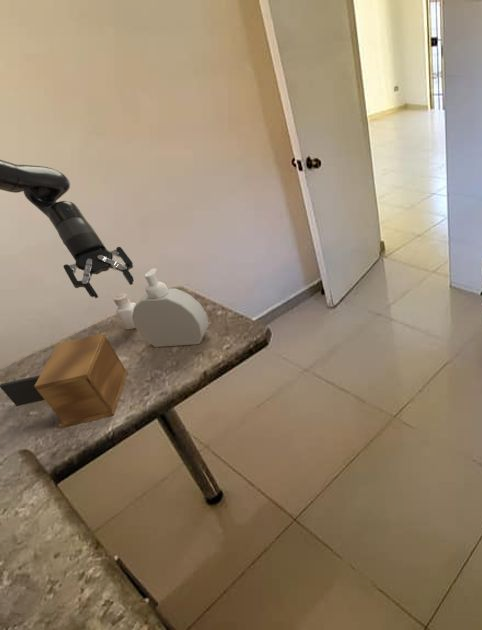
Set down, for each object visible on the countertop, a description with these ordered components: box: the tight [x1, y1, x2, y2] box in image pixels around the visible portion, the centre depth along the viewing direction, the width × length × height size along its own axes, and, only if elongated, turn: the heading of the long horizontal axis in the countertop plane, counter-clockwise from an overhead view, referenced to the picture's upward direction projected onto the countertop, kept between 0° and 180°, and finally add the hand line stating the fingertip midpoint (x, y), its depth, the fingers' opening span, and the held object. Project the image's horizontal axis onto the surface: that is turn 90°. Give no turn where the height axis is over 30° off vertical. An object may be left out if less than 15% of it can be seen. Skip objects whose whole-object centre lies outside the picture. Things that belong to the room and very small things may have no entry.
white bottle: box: [112, 292, 137, 330], centre depth 117 cm, size 4×4×10 cm
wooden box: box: [34, 333, 128, 429], centre depth 94 cm, size 10×14×12 cm
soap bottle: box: [132, 267, 210, 348], centre depth 107 cm, size 16×5×20 cm, turn 93°
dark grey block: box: [0, 374, 45, 407], centre depth 90 cm, size 10×7×9 cm
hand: (114, 290), depth 116 cm, fingers open, 8 cm apart
